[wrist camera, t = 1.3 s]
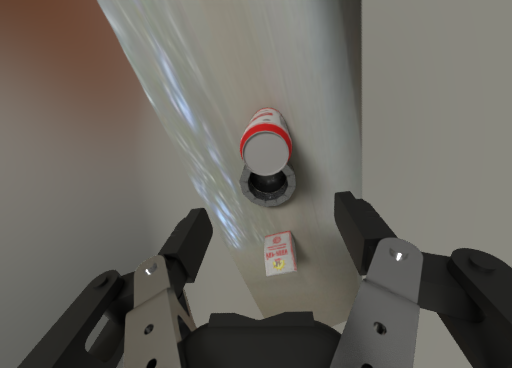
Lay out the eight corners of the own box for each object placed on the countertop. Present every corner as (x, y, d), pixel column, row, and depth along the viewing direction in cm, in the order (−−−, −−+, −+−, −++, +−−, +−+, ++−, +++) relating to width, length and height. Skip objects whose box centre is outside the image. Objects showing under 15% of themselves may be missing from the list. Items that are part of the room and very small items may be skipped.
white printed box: (294, 240, 47) (299, 276, 39) (269, 245, 49) (269, 281, 40) (290, 230, 46) (294, 265, 37) (265, 236, 47) (263, 270, 39)
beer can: (291, 128, 33) (305, 160, 20) (264, 147, 36) (259, 189, 22) (271, 98, 31) (271, 111, 17) (244, 121, 33) (224, 149, 20)
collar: (232, 173, 39) (229, 180, 36) (272, 141, 35) (272, 146, 32) (264, 206, 43) (263, 214, 40) (304, 180, 38) (306, 187, 36)
